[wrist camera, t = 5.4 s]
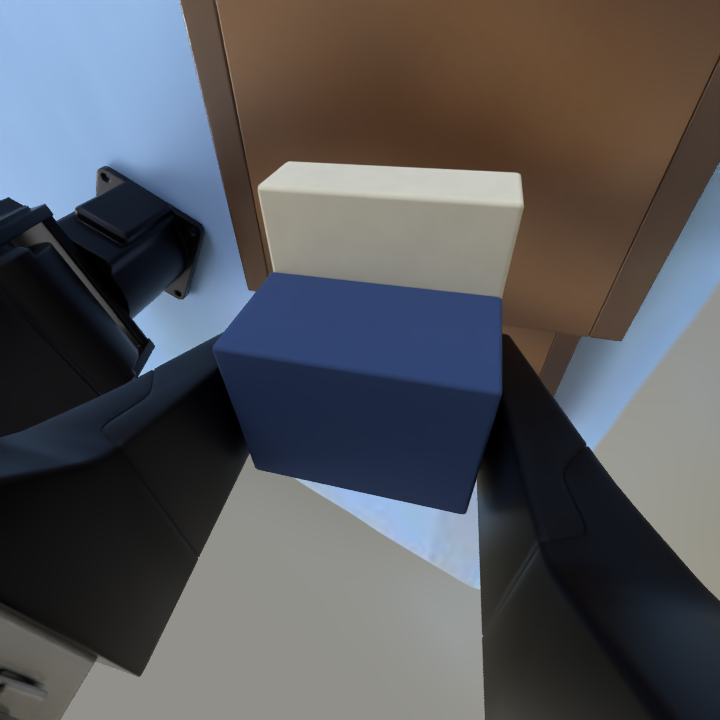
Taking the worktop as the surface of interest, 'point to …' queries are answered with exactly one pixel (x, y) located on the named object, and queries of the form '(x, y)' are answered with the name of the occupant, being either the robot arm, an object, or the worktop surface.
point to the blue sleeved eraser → (376, 328)
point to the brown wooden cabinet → (484, 128)
